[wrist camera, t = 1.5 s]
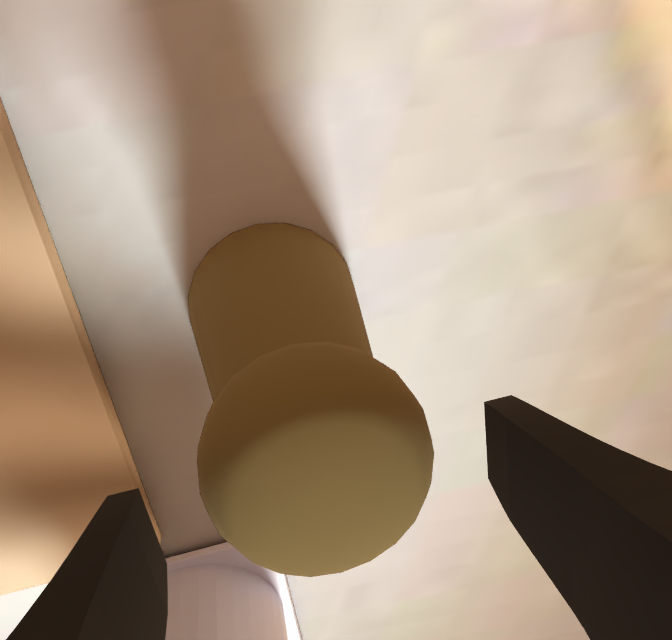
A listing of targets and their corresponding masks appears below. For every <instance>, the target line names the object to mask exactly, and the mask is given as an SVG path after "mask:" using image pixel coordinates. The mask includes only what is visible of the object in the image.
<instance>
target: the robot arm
mask: <svg viewBox="0 0 672 640" xmlns="http://www.w3.org/2000/svg"><path fill="white" fill-rule="evenodd" d="M484 407H485V426H486V445H487V464H488V479H489V481H490V483H491V485H492V487H493V489H494V491H495V493H496V495H497V497H498V499H499V501H500V503H501V505H502V506H503V508H504V510H505V512H506V514H507V516H508V518H509V519H510V521H511V523H512V524H513V525H514V527H515V528H516V530H517V531H518V533H519V534H520V536H521V537H522V539H523V540H524V542H525V543H526V545H527V546H528V547H529V549H530V550H531V552H532V553H533V555H534V556H535V558H536V559H537V560H538V562H539V563H540V565H541V566H542V568H543V569H544V570H545V572H546V573H547V575H548V576H549V578H550V579H551V580H552V582H553V583H554V585H555V586H556V588H557V589H558V591H559V592H560V593H561V595H562V596H563V598H564V599H565V601H566V602H567V603H568V605H569V606H570V608H571V609H572V611H573V612H574V614H575V615H576V617H577V618H578V620H579V622H580V623H581V625H582V626H583V628H584V629H585V631H586V633H587V635H588V636H589V638H590V640H672V471H670V470H667V469H665V468H662V467H660V466H657V465H655V464H652V463H650V462H647V461H645V460H643V459H640V458H638V457H636V456H634V455H631V454H629V453H627V452H624V451H622V450H620V449H618V448H615V447H613V446H611V445H609V444H607V443H605V442H603V441H600V440H598V439H596V438H594V437H592V436H590V435H588V434H586V433H584V432H582V431H580V430H578V429H576V428H574V427H572V426H570V425H568V424H567V423H565V422H563V421H561V420H559V419H557V418H555V417H553V416H551V415H549V414H547V413H546V412H544V411H542V410H540V409H538V408H536V407H534V406H532V405H530V404H528V403H526V402H524V401H522V400H520V399H518V398H516V397H514V396H512V395H510V396H506V397H502V398H498V399H494V400H490V401H486V402H484ZM6 640H302V638H301V634H300V630H299V626H298V622H297V619H296V615H295V611H294V607H293V603H292V599H291V595H290V592H289V588H288V584H287V580H286V576H285V574H279V573H277V572H274V571H272V570H269V569H267V568H264V567H262V566H259V565H257V564H254V563H253V562H251V561H250V560H249V559H248V558H246V557H245V556H244V555H243V554H241V553H240V552H239V551H238V550H237V549H236V548H234V547H233V546H232V545H231V544H230V543H228V542H226V543H222V544H218V545H214V546H210V547H207V548H203V549H199V550H195V551H191V552H188V553H184V554H180V555H176V556H172V557H169V558H165V557H164V554H163V551H162V549H161V546H160V543H159V541H158V538H157V535H156V533H155V530H154V527H153V525H152V522H151V519H150V517H149V514H148V511H147V509H146V506H145V503H144V501H143V498H142V495H141V493H140V490H139V488H137V489H133V490H129V491H124V492H120V493H116V494H112V495H108V496H107V497H106V499H105V500H104V502H103V503H102V504H101V506H100V507H99V509H98V510H97V512H96V513H95V515H94V516H93V518H92V519H91V521H90V522H89V524H88V526H87V527H86V529H85V530H84V532H83V533H82V535H81V536H80V538H79V539H78V541H77V542H76V544H75V545H74V547H73V548H72V550H71V551H70V553H69V554H68V556H67V557H66V559H65V560H64V562H63V563H62V565H61V566H60V568H59V569H58V570H57V572H56V573H55V575H54V576H53V578H52V579H51V581H50V582H49V584H48V585H47V586H46V588H45V589H44V591H43V592H42V593H41V595H40V596H39V597H38V599H37V600H36V601H35V603H34V604H33V605H32V607H31V608H30V609H29V611H28V612H27V613H26V615H25V616H24V617H23V619H22V620H21V621H20V623H19V624H18V625H17V627H16V628H15V629H14V630H13V632H12V633H11V634H10V635H9V637H8V638H7V639H6Z"/></svg>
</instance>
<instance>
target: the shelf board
mask: <svg viewBox="0 0 672 640" xmlns="http://www.w3.org/2000/svg"><path fill="white" fill-rule="evenodd" d="M137 488H139V490H140V493H141V495H142V498H143V501H144V503H145V506H146V509H147V511H148V514H149V517H150V519H151V522H152V525H153V527H154V530H155V533H156V535H157V538H158V541H159V543H161V534H160V531H159V528H158V526H157V523H156V520H155V518H154V515H153V512H152V509H151V507H150V504H149V501H148V498H147V496H146V493H145V490H144V488H143V485H142V482H141V479H140V477H139V474H138V471H137V469H136V466H135V463H134V460H133V458H132V455H131V452H130V449H129V447H128V444H127V441H126V439H125V436H124V433H123V430H122V428H121V425H120V422H119V420H118V417H117V414H116V411H115V409H114V406H113V403H112V400H111V398H110V395H109V392H108V390H107V387H106V384H105V381H104V379H103V376H102V373H101V371H100V368H99V365H98V362H97V360H96V357H95V354H94V351H93V349H92V346H91V343H90V341H89V338H88V335H87V332H86V330H85V327H84V324H83V322H82V319H81V316H80V313H79V311H78V308H77V305H76V302H75V300H74V297H73V294H72V292H71V289H70V286H69V283H68V281H67V278H66V275H65V273H64V270H63V267H62V264H61V262H60V259H59V256H58V253H57V251H56V248H55V245H54V243H53V240H52V237H51V234H50V232H49V229H48V226H47V224H46V221H45V218H44V215H43V213H42V210H41V207H40V204H39V202H38V199H37V196H36V194H35V191H34V188H33V185H32V183H31V180H30V177H29V175H28V172H27V169H26V166H25V164H24V161H23V158H22V155H21V153H20V150H19V147H18V145H17V142H16V139H15V136H14V134H13V131H12V128H11V126H10V123H9V120H8V117H7V115H6V112H5V109H4V106H3V104H2V101H1V98H0V595H4V594H8V593H12V592H15V591H19V590H23V589H27V588H31V587H35V586H38V585H42V584H46V583H49V582H50V581H51V579H52V578H53V576H54V575H55V573H56V572H57V570H58V569H59V568H60V566H61V565H62V563H63V562H64V560H65V559H66V557H67V556H68V554H69V553H70V551H71V550H72V548H73V547H74V545H75V544H76V542H77V541H78V539H79V538H80V536H81V535H82V533H83V532H84V530H85V529H86V527H87V526H88V524H89V522H90V521H91V519H92V518H93V516H94V515H95V513H96V512H97V510H98V509H99V507H100V506H101V504H102V503H103V502H104V500H105V499H106V497H107V496H108V495H112V494H116V493H120V492H124V491H129V490H133V489H137Z"/></svg>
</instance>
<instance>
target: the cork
mask: <svg viewBox="0 0 672 640" xmlns="http://www.w3.org/2000/svg"><path fill="white" fill-rule="evenodd" d="M188 303H189V314H190V323H191V326H192V330H193V333H194V337H195V340H196V344H197V347H198V350H199V354H200V357H201V361H202V364H203V368H204V371H205V375H206V378H207V382H208V385H209V388H210V392H211V395H212V399H213V404H212V406H211V408H210V410H209V412H208V414H207V417H206V420H205V424H204V427H203V431H202V434H201V437H200V441H199V444H198V455H197V466H198V477H199V488H200V495H201V497H202V500H203V502H204V505H205V508H206V510H207V512H208V514H209V516H210V517H211V519H212V521H213V523H214V525H215V527H216V529H217V530H218V532H219V534H220V536H221V537H223V538H224V539H225V540H226V541H227V542H228V543H230V544H231V545H232V546H233V547H234V548H236V549H237V550H238V551H239V552H240V553H241V554H243V555H244V556H245V557H246V558H248V559H249V560H250V561H251V562H253V563H254V564H257V565H259V566H262V567H264V568H267V569H269V570H272V571H274V572H277V573H279V574H286V575H296V576H306V577H313V576H320V575H327V574H334V573H341V572H344V571H346V570H349V569H351V568H354V567H356V566H359V565H361V564H364V563H367V562H369V561H371V560H373V559H374V558H375V557H377V556H378V555H380V554H381V553H383V552H384V551H386V550H387V549H389V548H390V547H391V546H393V545H394V544H396V543H397V541H398V540H399V539H400V538H401V537H402V536H403V535H404V533H405V532H406V531H407V530H408V529H409V528H410V527H411V525H412V524H413V523H414V522H415V520H416V518H417V516H418V514H419V512H420V509H421V507H422V505H423V503H424V501H425V498H426V496H427V493H428V490H429V487H430V484H431V479H432V469H433V459H434V451H433V445H432V439H431V435H430V432H429V428H428V425H427V421H426V418H425V414H424V411H423V408H422V407H421V405H420V404H419V402H418V401H417V399H416V398H415V396H414V395H413V393H412V392H411V391H410V390H409V388H408V387H407V386H406V384H405V383H404V382H403V381H402V379H401V378H400V377H399V375H398V374H397V373H396V372H395V371H394V370H392V369H390V368H389V367H387V366H386V365H384V364H383V363H381V362H379V361H378V360H376V359H374V358H373V355H372V351H371V348H370V344H369V340H368V337H367V333H366V329H365V325H364V322H363V318H362V314H361V310H360V307H359V303H358V299H357V295H356V292H355V288H354V285H353V282H352V278H351V275H350V272H349V269H348V266H347V264H346V262H345V261H344V260H343V258H342V257H341V256H340V254H339V253H338V252H337V250H336V249H335V248H334V246H333V245H332V244H330V243H329V242H327V241H326V240H324V239H323V238H322V237H320V236H319V235H317V234H316V233H314V232H313V231H311V230H308V229H304V228H301V227H297V226H294V225H290V224H287V223H272V224H256V225H253V226H250V227H248V228H245V229H242V230H239V231H236V232H234V233H231V234H230V235H228V236H227V237H226V238H225V239H223V240H222V241H221V242H219V243H218V244H217V245H215V246H214V247H213V248H211V249H210V250H209V251H208V253H207V254H206V256H205V257H204V259H203V260H202V262H201V263H200V265H199V266H198V268H197V269H196V271H195V272H194V276H193V280H192V284H191V287H190V291H189V295H188Z"/></svg>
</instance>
